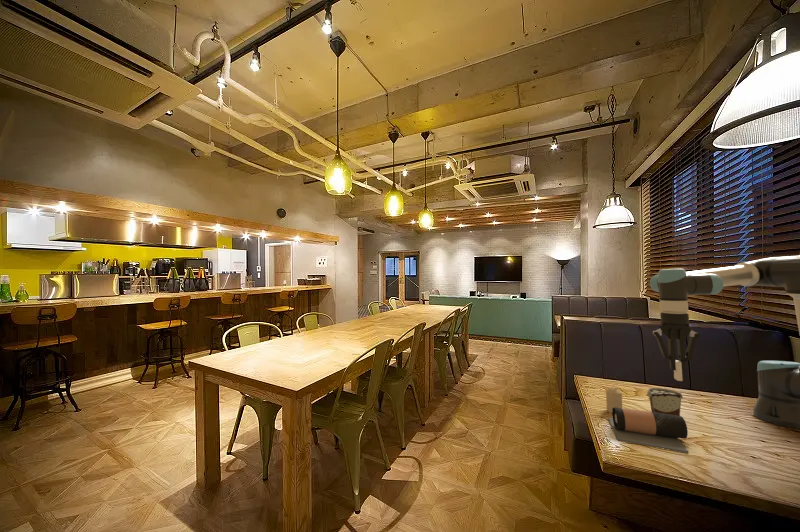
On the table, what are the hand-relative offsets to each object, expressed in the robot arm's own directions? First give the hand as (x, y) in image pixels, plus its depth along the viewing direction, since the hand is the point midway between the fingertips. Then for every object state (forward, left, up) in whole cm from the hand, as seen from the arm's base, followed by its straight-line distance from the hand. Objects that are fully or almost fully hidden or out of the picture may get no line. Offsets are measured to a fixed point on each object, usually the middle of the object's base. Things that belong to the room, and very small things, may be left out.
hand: (678, 379), depth 108 cm
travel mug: (-1, 0, -16) cm, 16 cm away
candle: (+16, -18, -21) cm, 32 cm away
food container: (-1, -23, -21) cm, 31 cm away
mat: (+10, 0, -21) cm, 23 cm away
